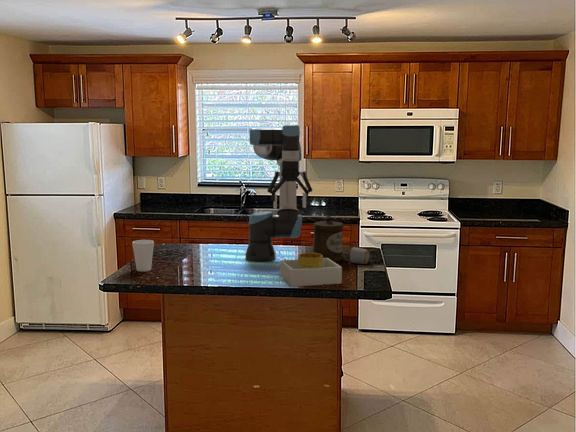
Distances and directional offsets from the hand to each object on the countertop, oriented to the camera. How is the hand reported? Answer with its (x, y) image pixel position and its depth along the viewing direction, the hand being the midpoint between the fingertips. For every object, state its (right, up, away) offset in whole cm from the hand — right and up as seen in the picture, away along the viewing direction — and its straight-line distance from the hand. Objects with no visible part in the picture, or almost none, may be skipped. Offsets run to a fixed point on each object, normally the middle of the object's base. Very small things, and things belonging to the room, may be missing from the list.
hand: (289, 208), depth 242 cm
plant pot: (+9, -30, -8) cm, 33 cm away
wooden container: (+19, -25, +33) cm, 46 cm away
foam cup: (-67, -28, +5) cm, 72 cm away
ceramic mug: (+34, -27, +25) cm, 50 cm away
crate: (+9, -31, -8) cm, 33 cm away
